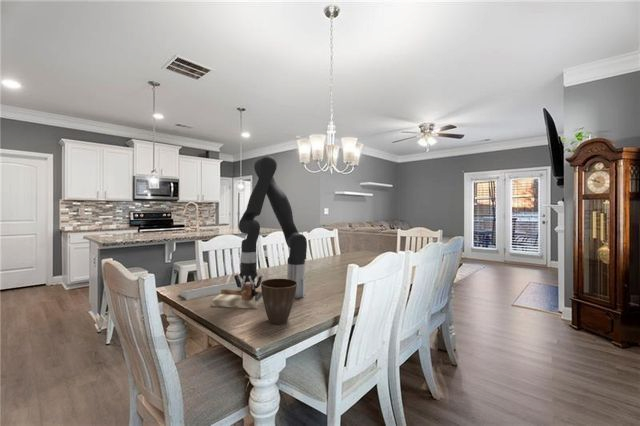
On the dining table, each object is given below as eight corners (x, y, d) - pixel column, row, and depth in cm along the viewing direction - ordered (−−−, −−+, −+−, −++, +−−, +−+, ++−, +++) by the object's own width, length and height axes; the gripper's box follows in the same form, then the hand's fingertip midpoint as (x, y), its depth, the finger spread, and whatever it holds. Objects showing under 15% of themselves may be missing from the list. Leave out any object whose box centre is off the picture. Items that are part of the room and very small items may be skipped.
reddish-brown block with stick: (254, 295, 148) (254, 283, 148) (246, 303, 136) (246, 290, 136) (246, 295, 148) (246, 283, 148) (237, 303, 136) (237, 290, 136)
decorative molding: (180, 301, 155) (187, 300, 148) (179, 291, 155) (186, 291, 148) (240, 289, 178) (248, 288, 172) (239, 280, 179) (247, 279, 172)
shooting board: (262, 300, 149) (262, 291, 149) (255, 308, 138) (256, 297, 138) (222, 298, 151) (222, 288, 151) (212, 306, 140) (212, 295, 140)
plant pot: (283, 311, 135) (283, 276, 135) (303, 322, 124) (304, 283, 124) (253, 319, 125) (254, 281, 125) (272, 331, 114) (273, 290, 114)
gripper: (265, 260, 147) (264, 294, 147) (237, 258, 148) (236, 293, 149) (260, 263, 139) (260, 299, 140) (231, 261, 141) (230, 297, 141)
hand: (248, 296), depth 144 cm, fingers closed on reddish-brown block with stick, 4 cm apart
